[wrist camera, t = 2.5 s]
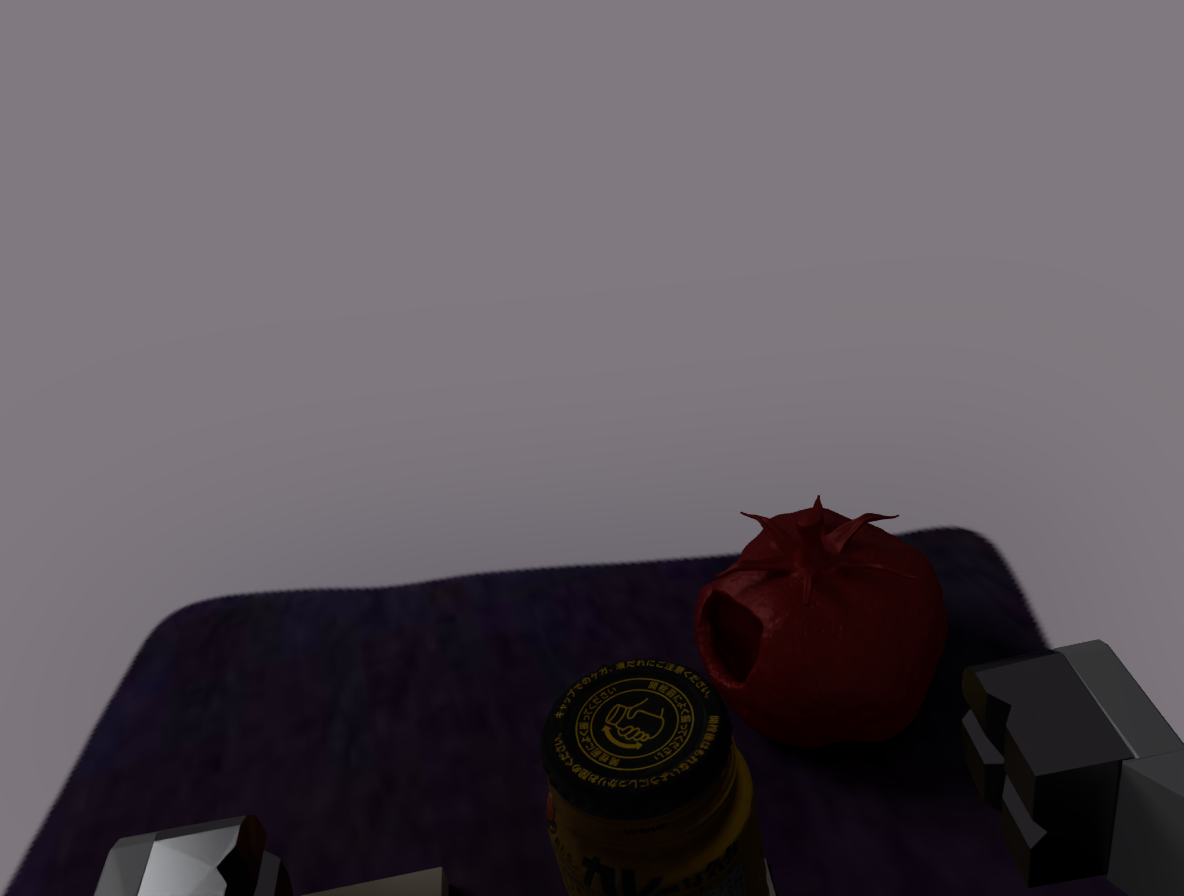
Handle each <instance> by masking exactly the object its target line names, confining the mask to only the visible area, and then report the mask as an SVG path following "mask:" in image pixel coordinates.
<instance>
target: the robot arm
mask: <svg viewBox="0 0 1184 896" xmlns="http://www.w3.org/2000/svg"><path fill="white" fill-rule="evenodd" d="M962 693H963V695H964V697H965V699H966V701H967V703H968V704H969V706H970V708H971V709H970V710H969V711H968V713H967V714H966V715H965V716H964V718H963V719H962V742H963V747H964V751H965V756H966V760H967V765H968V768H969V770H970V773H971V775H972V778H973V781H974V783H975V785H976V787H977V789H978V791H979V793H980V795H981V798H982V800H983V802H984V803H986V804H987V805H989V806H990V807H992V808H994V809H995V810H997V811H999V812H1000V813H1002V824H1001V837H1002V839H1003V841H1004V843H1005V845H1006V846H1007V848H1008V850H1009V852H1010V854H1011V856H1012V858H1013V860H1014V862H1015V864H1016V866H1017V868H1018V869H1019V871H1020V873H1021V875H1022V877H1023V879H1024V881H1025V883H1026V885H1027V887H1028V888H1033V887H1038V886H1044V885H1050V884H1056V883H1062V882H1067V881H1073V880H1079V879H1085V878H1091V877H1096V876H1102V875H1107V879H1108V880H1109V881H1111V882H1112V883H1113V884H1115V885H1116V886H1117V887H1119V888H1120V889H1121V890H1123V891H1124V892H1125V893H1127V894H1128V895H1129V896H1184V743H1183V742H1182V741H1181V739H1180V738H1179V737H1178V735H1177V734H1176V733H1175V732H1174V730H1173V729H1172V728H1171V726H1170V725H1169V724H1168V722H1167V721H1166V720H1165V719H1164V717H1163V716H1162V715H1161V713H1160V712H1159V711H1158V709H1157V708H1156V707H1155V706H1154V704H1153V703H1152V702H1151V700H1150V699H1149V698H1148V696H1147V695H1146V694H1145V692H1144V691H1143V690H1142V689H1141V687H1140V686H1139V685H1138V683H1137V682H1136V681H1135V679H1134V678H1133V677H1132V675H1131V674H1130V673H1129V672H1128V670H1127V669H1126V668H1125V666H1124V665H1123V664H1122V662H1121V661H1120V660H1119V659H1118V657H1117V656H1116V654H1115V653H1114V652H1113V651H1112V649H1111V648H1110V647H1109V646H1108V644H1106V643H1104V642H1102V641H1101V640H1099V639H1098V640H1093V641H1088V642H1083V643H1079V644H1074V645H1070V646H1064V647H1060V648H1055V649H1053V650H1050V649H1048V650H1043V651H1039V652H1034V653H1029V654H1025V655H1020V656H1016V657H1011V658H1006V659H1002V660H997V661H992V662H988V663H983V664H979V665H974V666H969V667H966V668H965V670H964V673H963V675H962ZM266 836H267V833H266V831H265V830H264V828H263V826H262V825H261V823H260V821H259V820H258V818H257V817H256V815H245V816H240V817H234V818H229V819H223V820H217V821H212V822H206V823H200V824H195V825H189V826H183V827H178V828H172V829H167V830H163V831H158V832H153V833H148V834H142V835H137V836H131V837H126V838H120V839H119V841H118V842H117V843H116V844H115V845H114V846H113V848H112V849H111V850H110V852H109V854H108V857H107V859H106V862H105V865H104V868H103V871H102V874H101V877H100V879H99V882H98V885H97V888H96V891H95V894H94V896H293V890H292V886H291V883H290V879H289V875H288V872H287V870H286V868H285V866H284V864H283V862H282V860H281V859H280V858H278V857H276V856H274V855H272V854H270V853H268V852H266V851H264V847H265V841H266Z"/></svg>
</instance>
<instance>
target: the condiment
mask: <svg viewBox="0 0 1184 896" xmlns="http://www.w3.org/2000/svg"><path fill="white" fill-rule="evenodd" d="M732 729H733V727H732V725H731V720H730V718H729V716H728V710H727V708H726V705H725V704H724V702H723V701H722V699H721V696H720V695H719V693H718V691H717V690H716V688H715V687H714V686H713V685H711V684H710V683H708V682H707V681H706V680H705V679H703V678H702V677H701V676H700V675H699V673H698V672H697V671H696V670H694V669H692V668H690V667H688V666H684V665H681V664H678V663H674V662H670V661H665V660H657V659H633V660H629V661H620V662H617V663H614V664H610V665H602V666H601V667H600V668H599V669H598V670H596V671H594V672H591V673H589V674H587V675H585V676H583V677H581V678H580V679H578V680H577V681H576V682H575V683H574V684H573V685H571V686H570V687H569V688H568V689H567V690H566V691H565V693H564V694H563V695H561V696H560V697H559V698H557V700H556V701H555V703H554V705H553V707H552V709H551V711H550V714H549V716H548V718H547V720H546V722H545V724H544V727H543V730H542V748H541V756H542V760H543V761H544V762H543V769H544V771H545V773H546V774H547V776H548V784H549V794H548V801H547V820H548V831H549V834H550V838H551V841H552V845H553V847H554V850H555V854H556V857H557V861H558V864H559V867H560V870H561V873H562V876H563V881H564V883H565V885H566V889H567V892H568V895H569V896H776V894H775V891H774V888H773V884H772V880H771V877H770V873H769V870H768V866H767V862H766V859H764V857H765V855H764V851H763V847H762V842H761V833H760V825H759V820H758V812H757V804H756V795H755V790H756V789H755V786H754V784H753V781H752V779H751V775H750V771H749V769H748V766H747V763H746V761H745V759H744V758H743V756H742V755H741V753H740V752H739V750H738V749H737V748H736V746H735V742H734V739H733V736H732Z"/></svg>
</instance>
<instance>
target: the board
mask: <svg viewBox="0 0 1184 896" xmlns="http://www.w3.org/2000/svg"><path fill="white" fill-rule="evenodd" d="M448 895H449V883H448V881H447V878H446V876H445V873H444V871H443V868H442V867H439V868H434V869H429V870H424V871H419V872H414V873H410V874H405V875H400V876H395V877H390V878H385V879H380V880H376V881H371V882H366V883H361V884H356V885H351V886H346V887H342V888H337V889H332V890H327V891H322V892H317V893H312V894H307V895H303V896H448Z"/></svg>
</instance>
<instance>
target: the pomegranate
mask: <svg viewBox="0 0 1184 896" xmlns="http://www.w3.org/2000/svg"><path fill="white" fill-rule="evenodd" d="M741 514H743V515H745V516H748V517H750V518H753V519H756V520H757V521H758V522H759V523H760V524H761V526H762V527H763V530H762V531H761V532H760V534H759V535H758V536H757V537H756V538H754V539H753V540H752V541H751V542H750V543H749V544H748V545H747V546H746V547H745V548H744V549H743V551H742V553H741V556H740V558H739V560H738V561H737V562H736V563H734V564H732V565H731V566H730V567H729V568H728V569H727V570H725V571H724V572H722V573H719V574H717V575H713V576H714V577H716V578H720V579H719V580H718V581H713V582H712V583H709V584H707V585H706V586H705V587H703V588H702V589H701V590H700V593H699V596H698V602H697V606H696V611H695V621H694V628H695V637H696V642H697V647H698V650H699V652H700V656H701V658H702V661H703V663H704V666H705V668H706V671H707V673H708V675H709V677H710V679H711V681H712V683H713V685H714V686H715V687H716V689H717V691H718V692H719V694H720V695H721V696H722V698H723V699H724V700H725V701H726V702H727V703H728V705H729V706H730V707H731V708H732V709H733V710H734V711H735V712H736V713H737V714H738V715H739V716H740V717H741V718H742V719H743V720H744V721H745V722H746V723H747V724H748V725H749V726H751V727H752V728H754V729H755V730H757V731H758V732H760V733H761V734H762V735H764V736H766V737H768V738H769V739H771V740H773V741H776V742H781V743H785V744H788V745H791V746H795V747H800V748H806V749H813V748H819V747H821V746H825V745H828V744H830V743H834V742H839V741H843V740H854V741H858V742H868V743H875V742H878V741H882V740H885V739H888V738H891V737H893V736H896V735H897V734H899V733H901V732H902V731H903V730H904V729H905V728H906V727H907V726H908V725H909V724H910V723H911V722H912V720H913V719H914V717H915V716H916V714H917V712H918V710H919V709H920V707H921V705H922V703H923V701H924V699H925V695H926V693H927V691H928V689H929V685H930V684H931V682H932V679H933V676H934V673H935V669H936V667H937V663H938V661H939V659H940V657H941V655H942V653H943V650H944V646H945V643H946V640H947V631H948V619H947V611H946V607H945V603H944V600H943V593H942V588H941V585H940V583H939V580H938V577H937V574H936V571H935V569H934V567H933V565H932V564H931V563H930V562H929V561H928V559H927V557H926V556H925V555H924V554H923V553H922V552H921V551H920V550H918V549H914V548H912V547H910V546H909V545H907V544H905V543H902V542H901V540H900V539H899V538H898V537H896V536H894V535H892V534H889V533H887V532H885V531H884V530H883V529H881V528H878V527H876V526H874V525H872V524H869V523H868V522H872V521H877V520H882V519H892V518H896V517H898V516H899V515H896V516H883V515H879V514H873V513H866V514H863V515H862V516H860V517H858V518H856V519H854V520H851V519H849V518H847V517H845V516H843V515H840V514H838V513H836V512H833V511H831V510H829V509H825V508H823V507H822V504H821V501H820V496H819V495H818V497H817V499H816V501H815V503H814V506H813V508H808V509H804V510H800V511H797V512H794V513H787V514H780V515H777V516H775V517H772V518H771V519H769V518H766V517H762V516H758V515H751V514H747V513H743V512H741Z"/></svg>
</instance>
